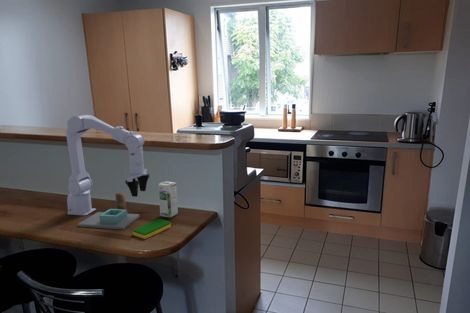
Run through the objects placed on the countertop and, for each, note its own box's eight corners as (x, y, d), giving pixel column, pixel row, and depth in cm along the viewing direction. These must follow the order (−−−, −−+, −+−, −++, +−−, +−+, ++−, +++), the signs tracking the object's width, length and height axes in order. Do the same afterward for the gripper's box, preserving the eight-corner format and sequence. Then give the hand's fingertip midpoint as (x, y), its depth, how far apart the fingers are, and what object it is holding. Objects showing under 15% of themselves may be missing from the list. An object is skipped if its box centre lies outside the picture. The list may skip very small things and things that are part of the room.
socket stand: (78, 226, 140) (77, 217, 139) (98, 214, 153) (97, 205, 153) (123, 229, 136) (122, 219, 135) (139, 216, 149) (138, 207, 149)
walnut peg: (115, 211, 156) (113, 194, 154) (119, 208, 160) (118, 192, 158) (123, 212, 155) (121, 195, 154) (127, 209, 159) (126, 192, 157)
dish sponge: (132, 235, 131) (132, 229, 131) (159, 223, 142) (159, 218, 142) (145, 240, 127) (144, 234, 127) (171, 227, 138) (171, 221, 138)
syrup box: (159, 216, 150) (157, 183, 147) (168, 211, 155) (166, 180, 152) (170, 218, 147) (168, 185, 144) (178, 213, 152) (176, 181, 149)
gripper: (137, 166, 138) (139, 199, 141) (152, 159, 152) (154, 189, 155) (121, 166, 139) (123, 198, 142) (138, 159, 153) (140, 188, 156)
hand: (138, 193), depth 148 cm, fingers open, 7 cm apart
